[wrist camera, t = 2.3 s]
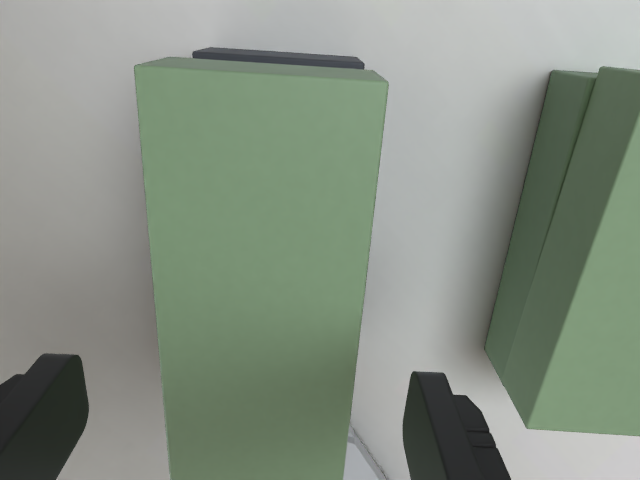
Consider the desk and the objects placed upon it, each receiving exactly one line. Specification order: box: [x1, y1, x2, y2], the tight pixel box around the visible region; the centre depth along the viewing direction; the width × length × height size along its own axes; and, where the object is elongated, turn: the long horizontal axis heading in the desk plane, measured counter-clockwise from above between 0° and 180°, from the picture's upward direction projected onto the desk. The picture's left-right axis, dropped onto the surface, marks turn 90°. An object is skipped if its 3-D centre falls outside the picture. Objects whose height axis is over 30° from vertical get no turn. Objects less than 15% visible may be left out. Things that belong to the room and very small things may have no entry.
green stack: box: [484, 66, 640, 436], centre depth 20 cm, size 14×6×6 cm, turn 176°
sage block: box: [134, 57, 389, 480], centre depth 16 cm, size 14×6×3 cm, turn 176°
